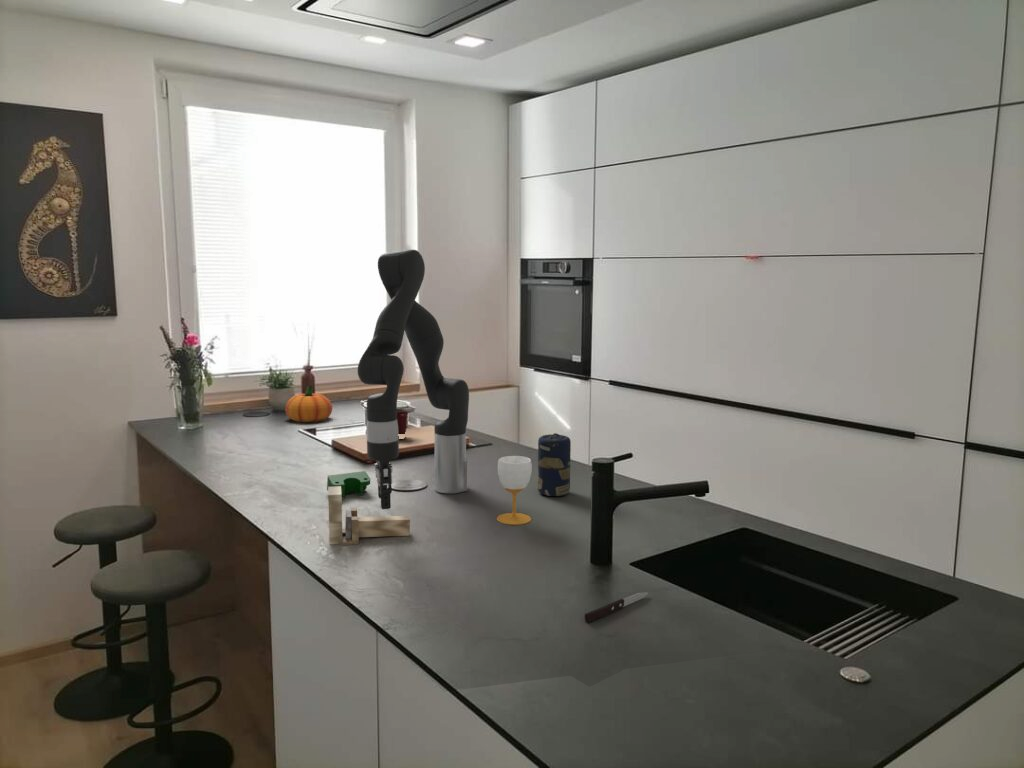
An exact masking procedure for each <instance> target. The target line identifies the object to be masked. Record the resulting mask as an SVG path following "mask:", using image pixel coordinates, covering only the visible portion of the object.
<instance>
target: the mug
mask: <svg viewBox="0 0 1024 768" xmlns="http://www.w3.org/2000/svg"><path fill="white" fill-rule="evenodd" d="M407 418H408V410H407V409H406V408H399V407H397V423H398V434H405V432H406V433H407V423H408V422H407V421H408V419H407Z"/></svg>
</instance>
